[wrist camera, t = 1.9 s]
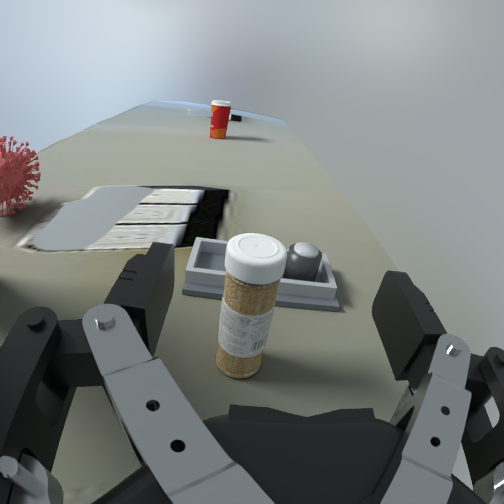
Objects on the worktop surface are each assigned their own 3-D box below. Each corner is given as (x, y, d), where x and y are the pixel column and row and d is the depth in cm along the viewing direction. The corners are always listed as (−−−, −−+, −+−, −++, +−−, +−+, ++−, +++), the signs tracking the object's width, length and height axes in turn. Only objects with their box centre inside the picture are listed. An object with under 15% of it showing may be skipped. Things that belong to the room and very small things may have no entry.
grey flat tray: (182, 294, 39) (183, 257, 36) (196, 247, 48) (198, 215, 45) (337, 311, 40) (350, 277, 37) (324, 263, 49) (332, 233, 46)
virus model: (-32, 231, 42) (-47, 154, 34) (-3, 199, 54) (-11, 133, 46) (30, 228, 46) (19, 143, 38) (53, 195, 58) (48, 125, 50)
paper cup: (213, 134, 120) (217, 99, 113) (231, 137, 118) (236, 102, 111) (203, 137, 114) (207, 100, 106) (221, 140, 112) (226, 103, 104)
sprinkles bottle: (244, 340, 34) (264, 226, 27) (269, 369, 31) (301, 254, 24) (206, 355, 31) (215, 236, 24) (230, 387, 28) (249, 269, 21)
